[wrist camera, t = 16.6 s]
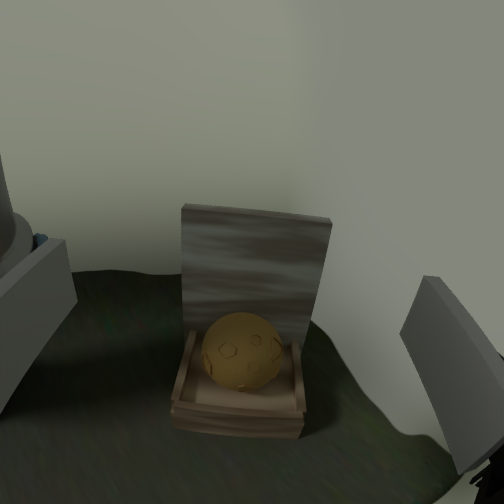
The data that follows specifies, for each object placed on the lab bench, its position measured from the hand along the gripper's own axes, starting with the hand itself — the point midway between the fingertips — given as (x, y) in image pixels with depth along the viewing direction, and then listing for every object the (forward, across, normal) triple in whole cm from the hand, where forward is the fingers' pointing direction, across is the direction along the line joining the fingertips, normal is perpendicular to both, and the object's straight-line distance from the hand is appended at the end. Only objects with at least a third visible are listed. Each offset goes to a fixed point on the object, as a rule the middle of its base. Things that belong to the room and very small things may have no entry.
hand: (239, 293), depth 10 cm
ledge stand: (+18, +1, -30) cm, 35 cm away
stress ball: (+18, 0, -26) cm, 32 cm away
